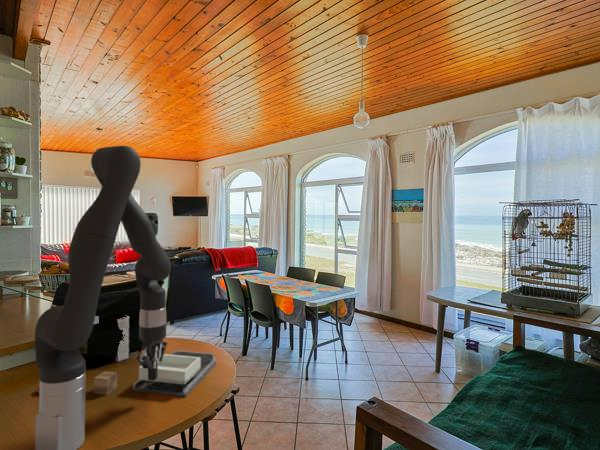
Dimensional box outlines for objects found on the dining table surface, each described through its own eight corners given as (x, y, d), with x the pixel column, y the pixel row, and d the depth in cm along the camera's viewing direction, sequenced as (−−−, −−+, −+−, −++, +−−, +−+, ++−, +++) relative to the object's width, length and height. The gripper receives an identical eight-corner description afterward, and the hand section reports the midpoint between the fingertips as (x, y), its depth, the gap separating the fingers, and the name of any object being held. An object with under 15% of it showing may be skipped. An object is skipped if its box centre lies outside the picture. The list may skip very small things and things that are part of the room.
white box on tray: (184, 389, 114) (185, 371, 114) (138, 384, 116) (138, 367, 116) (200, 373, 125) (200, 357, 125) (158, 369, 128) (158, 353, 128)
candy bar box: (100, 355, 141) (100, 313, 141) (112, 351, 146) (113, 311, 145) (117, 362, 135) (117, 319, 135) (129, 358, 140) (130, 316, 139)
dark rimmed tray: (185, 396, 112) (186, 383, 112) (132, 390, 115) (132, 378, 115) (216, 364, 137) (216, 353, 137) (171, 359, 139) (171, 349, 139)
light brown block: (107, 395, 112) (107, 379, 112) (94, 393, 113) (94, 377, 113) (116, 388, 116) (117, 372, 116) (104, 386, 117) (104, 371, 117)
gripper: (152, 330, 102) (152, 391, 103) (175, 316, 115) (175, 370, 116) (127, 328, 103) (127, 388, 104) (153, 315, 116) (153, 368, 117)
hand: (152, 379), depth 110 cm, fingers closed
